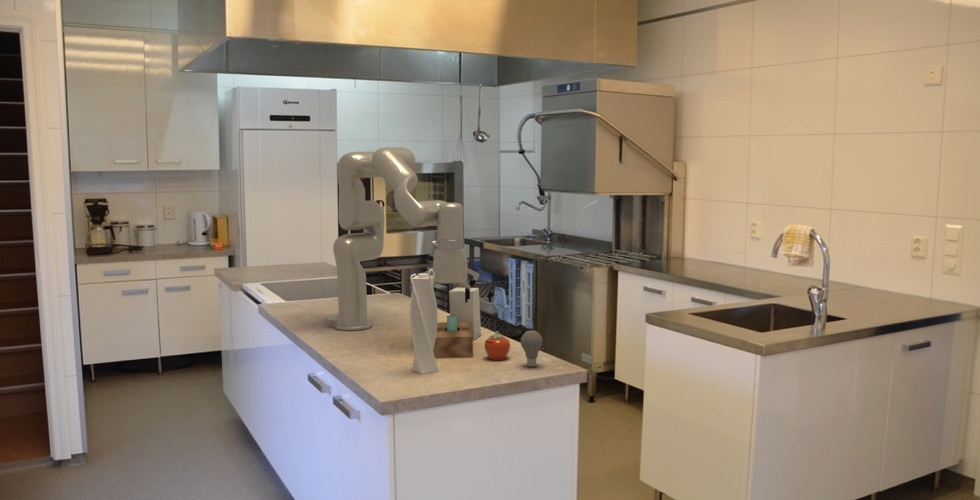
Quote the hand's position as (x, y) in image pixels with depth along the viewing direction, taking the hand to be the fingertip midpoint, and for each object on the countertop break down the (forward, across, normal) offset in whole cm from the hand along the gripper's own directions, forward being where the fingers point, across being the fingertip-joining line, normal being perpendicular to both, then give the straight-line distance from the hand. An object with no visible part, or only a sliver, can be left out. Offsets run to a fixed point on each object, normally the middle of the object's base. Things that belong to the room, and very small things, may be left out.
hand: (450, 301), depth 236 cm
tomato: (+14, +14, -13) cm, 23 cm away
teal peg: (+14, +1, -1) cm, 14 cm away
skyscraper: (+14, -6, -24) cm, 28 cm away
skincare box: (+15, +5, +14) cm, 21 cm away
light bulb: (+14, +23, -22) cm, 34 cm away
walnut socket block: (+14, +1, -1) cm, 14 cm away
